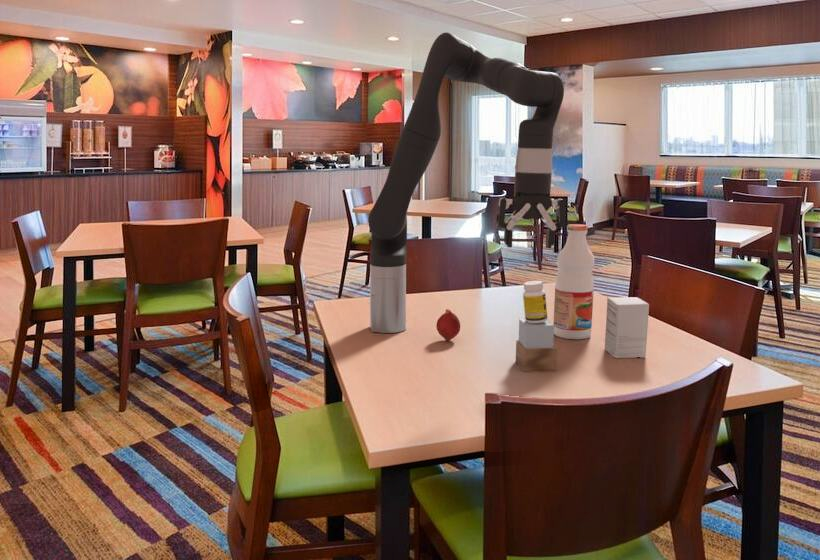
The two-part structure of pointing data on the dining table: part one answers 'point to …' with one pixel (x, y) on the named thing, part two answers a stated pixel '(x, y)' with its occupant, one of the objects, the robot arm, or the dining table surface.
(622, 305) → the supplement box
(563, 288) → the fruit juice
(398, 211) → the robot arm
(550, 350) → the bottom block
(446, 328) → the onion
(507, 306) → the dining table surface
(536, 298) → the supplement bottle
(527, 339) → the top block
